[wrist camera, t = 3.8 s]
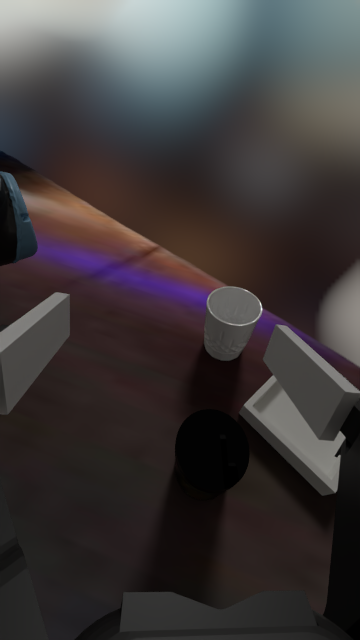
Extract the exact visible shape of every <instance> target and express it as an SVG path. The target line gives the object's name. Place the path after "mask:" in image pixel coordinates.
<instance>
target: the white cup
mask: <svg viewBox="0 0 360 640" xmlns="http://www.w3.org/2000/svg"><path fill="white" fill-rule="evenodd" d="M261 314H262V305H261V303H260V301H259V300H258V298H257V297H256V296H255V295H253V294H252V293H251V292H249V291H247V290H244V289H242V288H238V287H222V288H219V289H216V290H214V291H213V292H212V293H211V294H210V295H209V297H208V299H207V306H206V317H205V330H204V332H205V337H204V345H205V348H206V351H207V352H208V353H209V354H210V355H211V356H212V357H214V358H216V359H218V360H222V361H230V360H233V359H235V358H237V357H238V356H239V355H240V354H241V352H242V351H243V349H244V347H245V345H246V344H247V342H248V340H249V338H250V336H251V334H252V332H253V330H254V328H255V326H256V324H257V322H258V320H259V318H260V316H261Z"/></svg>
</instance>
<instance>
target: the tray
mask: <svg viewBox="0 0 360 640" xmlns="http://www.w3.org/2000/svg"><path fill="white" fill-rule="evenodd" d="M239 414H240V415H241V416H242V417H243V418H244V419H245V420H246V421H247V422H248V423H249V424H250V425H251V426H252V427H253V428H254V429H255V430H256V431H257V432H258V433H259V434H260V435H261V436H262V437H263V438H264V439H265V440H266V441H267V442H268V443H269V444H270V445H271V446H272V447H273V448H274V449H275V450H276V451H277V452H278V453H279V454H280V455H281V456H282V457H283V458H285V459H286V460H287V461H288V462H289V463H290V464H291V465H292V466H293V467H294V468H295V469H296V470H297V471H298V472H299V473H300V474H301V475H302V476H303V477H304V478H305V479H306V480H307V481H308V482H309V483H310V484H311V485H312V486H313V487H314V488H315V489H316V490H317V491H318V492H319V493H320V494H321V495H322V496H324V495H328V494H333V493H336V491H337V489H338V478H339V468H340V457H341V455H339V456H338V457H335V454H336V453H337V451H338V449H339V448H340V446H341V444H342V443H343V441H344V440H345V438H346V437H345V436H344V435H343V434H342V433H341V431H340V432H339V433H338V435H337V437H336V438H335V440H334V441H327V440H318V438H317V437H316V435H315V434H314V432H313V431H312V430H311V428H310V427H309V425H308V424H307V422H306V421H305V419H304V418H303V417H302V415H301V414H300V412H299V411H298V409H297V408H296V407H295V405H294V404H293V402H292V401H291V399H290V398H289V396H288V395H287V394H286V392H285V391H284V389H283V388H282V386H281V385H280V383H279V382H278V381H277V379H276V378H275V376H274V375H273V376H272V377H271V378H270V379H269V380H268V381H267V382H266V383H265V384H264V385H263V386H262V387H261V388H260V389H259V390H258V391H257V392H256V393H255V394H254V395H253V396H252V397H251V398H250V399H249V400H248V401H247V402H246V403H245V404H244V405H243V407H242V409H241V411H240V412H239Z"/></svg>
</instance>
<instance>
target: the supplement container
mask: <svg viewBox="0 0 360 640" xmlns="http://www.w3.org/2000/svg"><path fill="white" fill-rule="evenodd" d="M248 463H249V445H248V441H247V438H246V435H245V433H244V431H243V430H242V428H241V427H240V425H239V424H238V423H237V422H236V421H235V420H234V419H233V418H232V417H230V416H229V415H227V414H225V413H223V412H221V411H218V410H212V409H206V410H200V411H197V412H195V413H193V414H192V415H190V416H189V417H188V418H187V419H186V420H185V421H184V422H183V423H182V425H181V427H180V428H179V431H178V434H177V438H176V444H175V473H176V477H177V480H178V483H179V485H180V486H181V488H182V489H183V490H184V492H185V493H186V494H188V495H189V496H190V497H192V498H194V499H197V500H201V501H207V500H211V499H214V498H216V497H217V496H219V495H220V494H222V493H223V492H224V491H226V490H228V489H230V488H231V487H233V486H234V485H235V484H236V483H237V482H239V480H240V479H241V478H242V477H243V475H244V474H245V472H246V469H247V467H248Z"/></svg>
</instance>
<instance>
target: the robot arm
mask: <svg viewBox="0 0 360 640" xmlns="http://www.w3.org/2000/svg"><path fill="white" fill-rule="evenodd" d="M28 215H29V214H28V212H27V208H26V205H25V202H24V200H23V197H22V195H21V192H20V190H19V187H18V185H17V183H16V181H15V179H14V177H13V176H12V175H11V174H10V173H3V172H1V171H0V266H2V265H6V264H10V263H16V262H18V260H21V259H25V258H28V257H31V256H33V255H34V254H35V253H36V252H37V248H38V245H37V240H36V236H35V232H34V229H33V226H32V223H31V220H30V218H29V216H28ZM69 329H70V294H64V293H57V292H56V293H54V294H53V295H52V296H50V297H49V298H47V299H46V300H45V301H43V302H42V303H40V304H39V305H38V306H36V307H35V308H34V309H32V310H31V311H29V312H28V313H27V314H25V315H24V316H22V317H21V318H20V319H18V320H17V321H15V322H14V323H13V324H11V325H10V326H8V325H2V326H0V414H6V415H8V414H9V412H10V411H11V410H12V409H13V407H14V406H15V405H16V403H17V402H18V401H19V400H20V398H21V397H22V396H23V394H24V393H25V392H26V391H27V389H28V388H29V387H30V385H31V384H32V383H33V382H34V380H35V379H36V378H37V376H38V375H39V374H40V373H41V371H42V370H43V369H44V367H45V366H46V365H47V364H48V362H49V361H50V360H51V358H52V357H53V356H54V355H55V353H56V352H57V351H58V350H59V348H60V347H61V346H62V344H63V343H64V342H65V341H66V339H67V338H68V337H69ZM263 360H264V362H265V363H266V365H267V366H268V368H269V369H270V371H271V372H272V373H273V375H274V376H275V378H276V379H277V381H278V382H279V383H280V385H281V386H282V388H283V389H284V391H285V392H286V394H287V395H288V396H289V398H290V399H291V401H292V402H293V404H294V405H295V407H296V408H297V409H298V411H299V412H300V414H301V415H302V417H303V418H304V419H305V421H306V422H307V424H308V425H309V427H310V428H311V430H312V431H313V432H314V434H315V435H316V437H317V438H318V440H327V441H334V440H335V438H336V437H337V435H338V433H339V432H340V431H341V433H342V434H343V435H344V436H345V437H346V438H345V440H344V441H343V443H342V444H341V446H340V448H339V449H338V451H337V453H336V454H335V457H338V456H339V455H341V457H340V468H339V478H338V489H337V500H336V511H335V522H334V532H333V543H332V554H331V565H330V575H329V586H328V597H327V604H326V608H325V611H324V614H323V615H321V614H319V613H317V612H315V611H313V610H311V607H310V605H309V602H308V599H307V597H306V594H305V591H262V592H260V593H258V594H256V595H254V596H252V597H250V598H247V599H245V600H243V601H241V602H239V603H237V604H235V605H233V606H230V607H228V608H226V609H223V610H219V609H215V608H213V607H210V606H207V605H205V604H202V603H199V602H197V601H194V600H192V599H189V598H186V597H184V596H181V595H178V594H176V593H173V592H124V593H123V598H122V603H121V608H120V609H118V610H116V611H113V612H111V613H108V614H107V615H105V616H103V617H102V618H100V619H99V620H97V621H95V622H94V623H93V624H92V625H90V626H89V627H88V628H87V629H85V630H84V631H83V632H82V633H81V634H80V635H79V636H78V637H77V638H76V639H75V640H360V391H359V390H358V389H357V388H356V387H355V386H354V385H353V384H351V383H350V382H349V381H348V380H347V379H345V377H344V376H343V375H341V374H340V373H339V372H338V371H337V370H335V369H334V368H333V367H332V366H331V365H329V364H328V363H327V362H326V361H325V360H324V359H323V358H322V357H321V356H319V355H318V354H317V353H316V352H315V351H314V350H313V349H312V348H310V347H309V346H308V345H307V344H306V343H305V342H304V341H303V340H301V339H300V338H299V337H298V336H297V335H296V334H295V333H294V332H293V331H291V330H290V329H289V328H288V327H287V326H282V325H275V328H274V331H273V334H272V336H271V339H270V342H269V344H268V347H267V350H266V353H265V355H264V358H263ZM0 640H48V636H47V633H46V629H45V626H44V622H43V619H42V615H41V612H40V608H39V605H38V602H37V598H36V595H35V591H34V588H33V584H32V581H31V577H30V574H29V570H28V567H27V564H26V560H25V557H24V554H23V551H22V549H21V547H20V546H19V544H18V541H17V537H16V534H15V530H14V527H13V523H12V520H11V516H10V513H9V509H8V505H7V502H6V498H5V495H4V491H3V488H2V484H1V481H0Z"/></svg>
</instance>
